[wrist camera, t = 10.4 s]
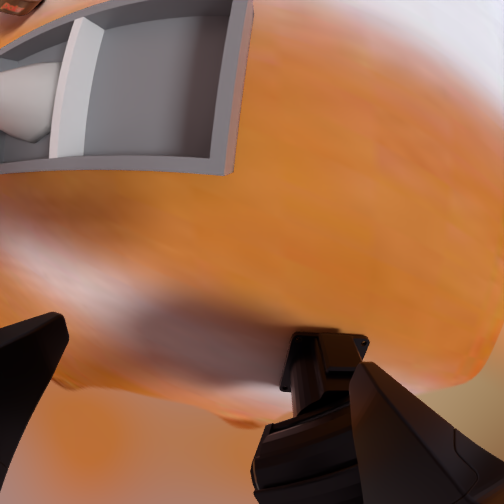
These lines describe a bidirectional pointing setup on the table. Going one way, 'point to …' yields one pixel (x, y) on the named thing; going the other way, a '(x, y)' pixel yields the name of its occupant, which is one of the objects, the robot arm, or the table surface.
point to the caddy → (138, 87)
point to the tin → (18, 6)
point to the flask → (28, 100)
